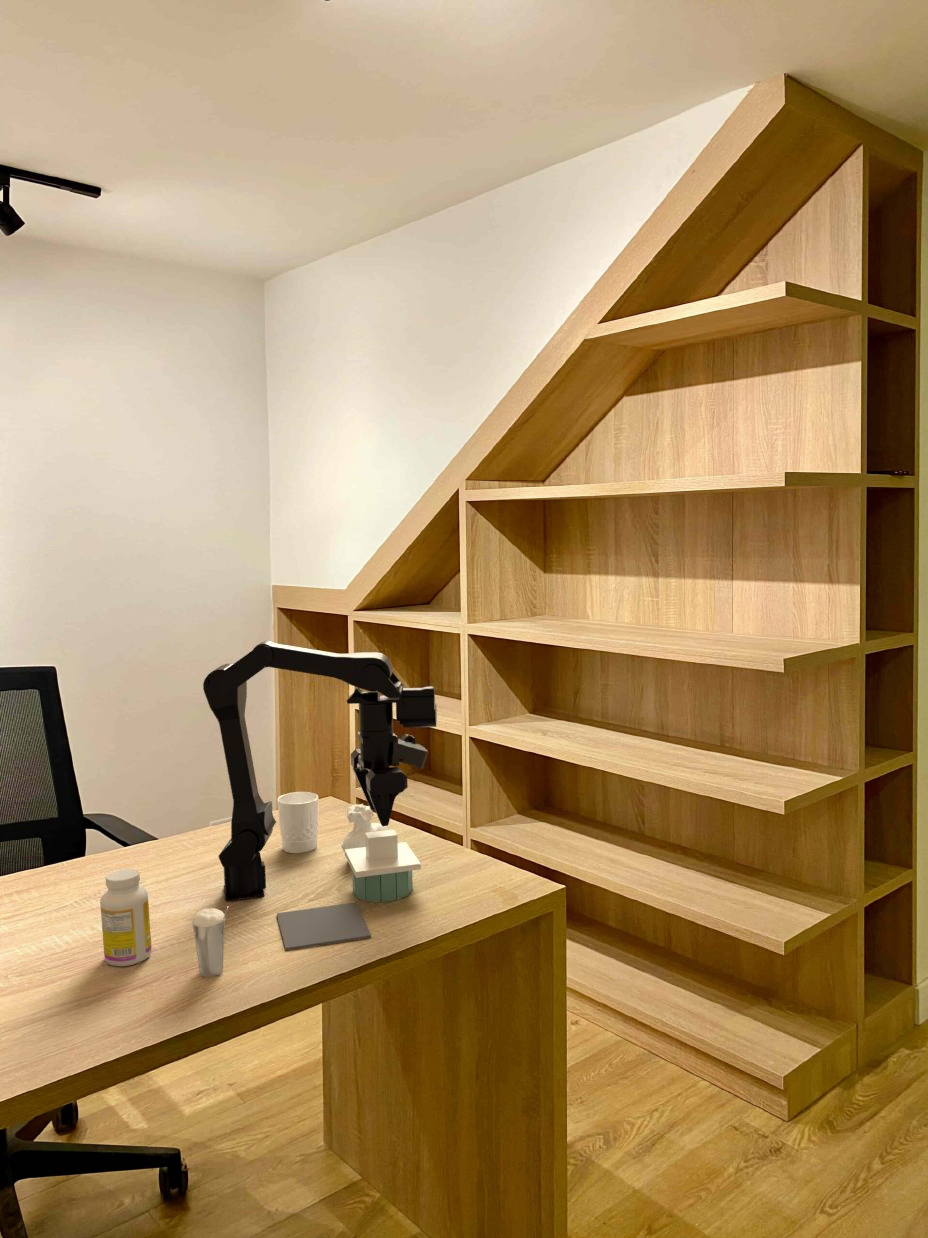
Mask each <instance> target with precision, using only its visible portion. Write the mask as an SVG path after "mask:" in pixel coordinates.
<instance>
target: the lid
mask: <svg viewBox="0 0 928 1238" xmlns="http://www.w3.org/2000/svg"><path fill="white" fill-rule="evenodd" d="M365 845H366V847H362V848H353V849H345V852H344V856H345V858H346V860H347V862H348V864H349V866H350V869H351V871H352V870H353V872H354V874H355V876H356V878H359V877H366V876H374V875H382V874H389V873H397V872H404V871H412V872H413V871H418V870H421V869H422V864H421V862H420V861H419V859H418V857H417V856H416V855H415V853H414V852H413V850H412V849H411V848H410V846H409V844H408V843H407V842H406V841H404V842H403V841H402V842H398V833H396V831H395V830H394V829H393V828H392V829H389V830H385V831H376V832H368V833H365Z"/></svg>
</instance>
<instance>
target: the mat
mask: <svg viewBox="0 0 928 1238" xmlns="http://www.w3.org/2000/svg"><path fill="white" fill-rule="evenodd" d="M276 918H277V922H278V924H279V929H280V933H281V937H282V941H283V946H284V948H285V949H284V950H285V951H292V950H298V949H305V948H313V947H319V946H326V945H331V944H337V943H344V942H345V943H346V942H351V941H357V940H364V939H365V940H366V939H371V938H372V934H371V931H370V929H369V927H368V924H367V923H366V921H365V919H364V917H363V914H362V913H361V909H360V908H359V906H358V904H357V902H349V903H342V904H341V903H340V904H335V905H334V904H333V905H326V906H319V907H313V908H304V909H297V910H291V911H282V912H277V913H276Z"/></svg>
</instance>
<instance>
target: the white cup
mask: <svg viewBox="0 0 928 1238" xmlns="http://www.w3.org/2000/svg"><path fill="white" fill-rule="evenodd" d="M276 803H277V811H278V823H279V830H280V835H281V836H280V837H281V848H282V850H283V851H284V852H285V853H290V854H303V853H309V852H311V851H314V850H315V849H317V847H318V833H319V795H318V794H317V793H314V792H309V791H295V792H289V793H286V794H283V795H280V796H279V797H277V802H276Z"/></svg>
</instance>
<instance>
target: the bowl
mask: <svg viewBox="0 0 928 1238" xmlns="http://www.w3.org/2000/svg"><path fill="white" fill-rule="evenodd" d="M351 874H352V892H353V895H354V897H355V898H358V899H360V900H362V901H364V902H373V903H385V902H392V901H398V900H400V899H403V898H405V897H407V896H409V895H410V894H411V892H412V891H413V890H414V885H413V881H414V880H413V870H412V871H404V872H397V873H389V874H382V875H374V876H366V877H359V878H356V876H355V874H354V872H353V870H352V869H351Z"/></svg>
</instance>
